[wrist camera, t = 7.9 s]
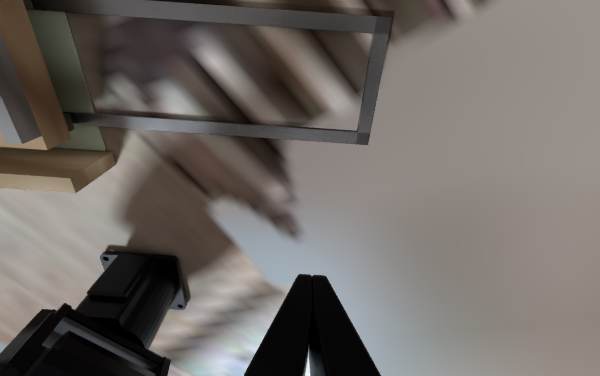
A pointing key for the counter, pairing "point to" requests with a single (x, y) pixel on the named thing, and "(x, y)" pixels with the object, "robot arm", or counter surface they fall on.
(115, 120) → the rails
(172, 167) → the counter surface
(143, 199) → the counter surface
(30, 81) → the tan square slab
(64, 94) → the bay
